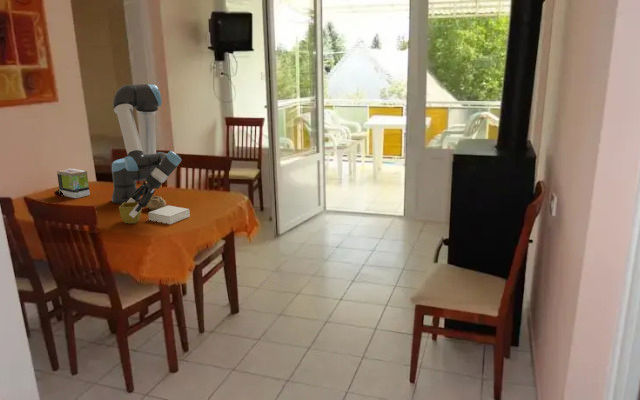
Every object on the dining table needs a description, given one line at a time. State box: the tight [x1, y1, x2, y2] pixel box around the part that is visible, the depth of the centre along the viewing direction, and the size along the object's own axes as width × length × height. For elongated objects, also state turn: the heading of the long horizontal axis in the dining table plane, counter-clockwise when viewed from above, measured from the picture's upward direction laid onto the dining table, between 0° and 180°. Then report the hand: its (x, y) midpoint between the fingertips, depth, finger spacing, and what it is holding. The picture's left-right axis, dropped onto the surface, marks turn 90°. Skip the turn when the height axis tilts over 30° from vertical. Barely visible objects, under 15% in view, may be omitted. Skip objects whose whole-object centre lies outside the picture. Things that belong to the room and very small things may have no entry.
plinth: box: [147, 205, 191, 225], centre depth 252 cm, size 14×14×4 cm
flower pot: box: [118, 201, 143, 224], centre depth 246 cm, size 9×9×9 cm
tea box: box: [56, 167, 91, 199], centre depth 293 cm, size 15×10×15 cm, turn 58°
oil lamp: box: [145, 194, 167, 211], centre depth 267 cm, size 11×15×8 cm
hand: (127, 212), depth 244 cm, fingers open, 13 cm apart
